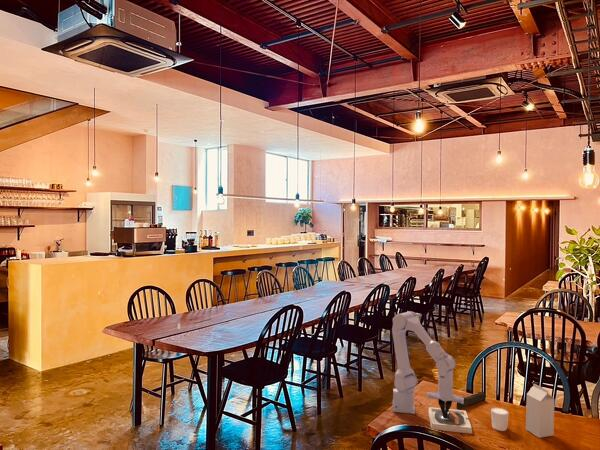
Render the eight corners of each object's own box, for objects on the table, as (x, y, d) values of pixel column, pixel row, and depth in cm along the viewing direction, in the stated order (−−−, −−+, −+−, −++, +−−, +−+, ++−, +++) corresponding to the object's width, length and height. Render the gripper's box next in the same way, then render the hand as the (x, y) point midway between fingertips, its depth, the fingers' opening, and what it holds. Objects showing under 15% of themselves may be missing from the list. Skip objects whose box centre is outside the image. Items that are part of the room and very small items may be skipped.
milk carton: (539, 438, 175) (540, 391, 174) (525, 429, 182) (526, 384, 181) (553, 435, 177) (554, 389, 176) (539, 427, 184) (540, 382, 183)
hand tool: (478, 398, 212) (478, 389, 212) (486, 401, 209) (486, 391, 208) (451, 407, 202) (451, 397, 202) (458, 410, 199) (459, 400, 199)
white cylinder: (509, 426, 185) (509, 409, 184) (507, 433, 179) (508, 416, 178) (491, 421, 188) (491, 405, 188) (489, 428, 182) (489, 412, 182)
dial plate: (431, 429, 182) (431, 423, 181) (428, 411, 197) (428, 406, 197) (472, 433, 178) (472, 427, 178) (466, 415, 194) (466, 410, 194)
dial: (429, 412, 193) (430, 404, 193) (455, 411, 194) (455, 402, 194) (442, 426, 180) (443, 417, 180) (470, 425, 182) (470, 416, 182)
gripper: (426, 386, 183) (426, 418, 183) (463, 391, 177) (463, 424, 178) (428, 380, 189) (427, 411, 190) (464, 385, 184) (463, 417, 184)
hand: (445, 417), depth 184 cm, fingers closed
